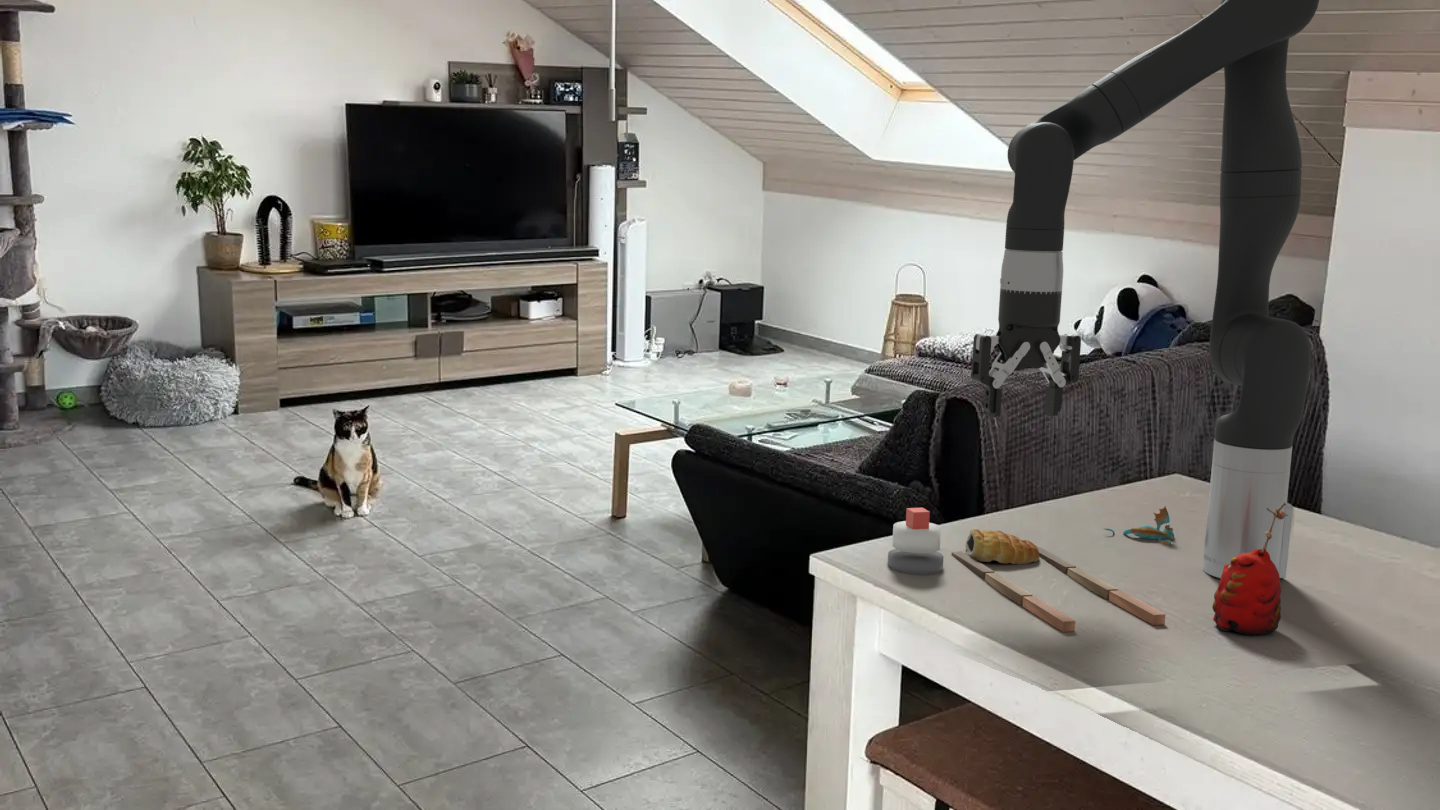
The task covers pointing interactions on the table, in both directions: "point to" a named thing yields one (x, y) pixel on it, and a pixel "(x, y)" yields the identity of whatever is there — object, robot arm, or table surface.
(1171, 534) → the dragon figurine
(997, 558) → the pastry
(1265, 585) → the red clay folk toy
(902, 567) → the button base
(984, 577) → the track
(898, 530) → the dome button
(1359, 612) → the table surface
